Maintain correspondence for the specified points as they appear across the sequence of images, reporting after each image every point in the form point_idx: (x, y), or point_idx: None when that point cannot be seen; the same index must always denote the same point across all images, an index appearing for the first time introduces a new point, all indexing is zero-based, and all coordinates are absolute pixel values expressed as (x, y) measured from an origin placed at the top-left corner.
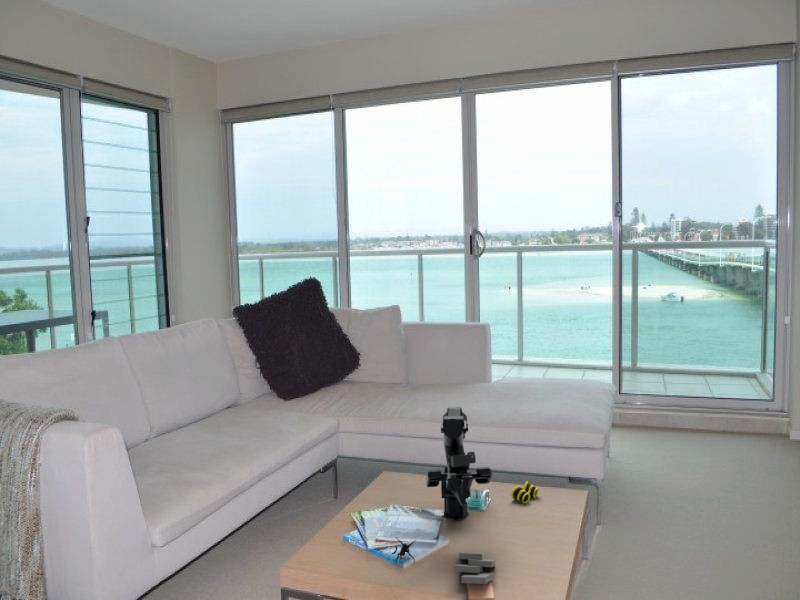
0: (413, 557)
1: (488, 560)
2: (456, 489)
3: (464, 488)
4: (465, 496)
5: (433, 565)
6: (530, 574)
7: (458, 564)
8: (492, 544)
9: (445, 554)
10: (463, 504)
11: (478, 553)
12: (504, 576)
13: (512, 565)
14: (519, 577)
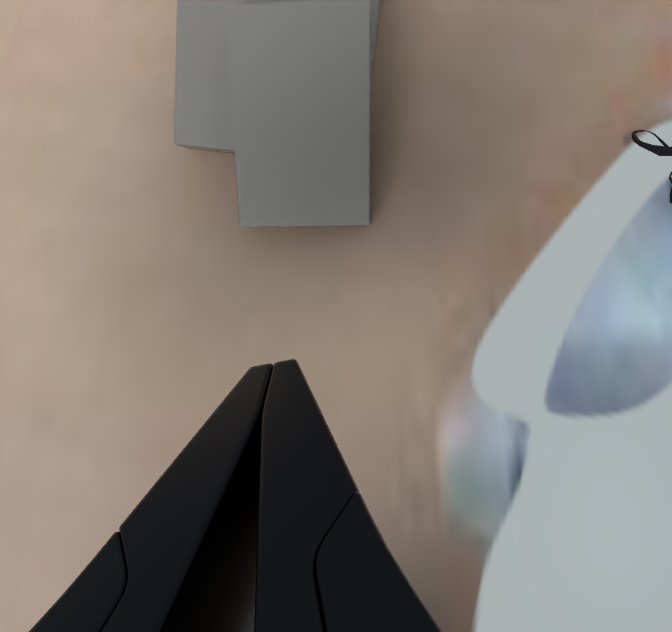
0: (653, 148)
1: (202, 21)
2: (378, 568)
3: (105, 624)
4: (188, 445)
5: (512, 131)
6: (46, 93)
7: (373, 10)
8: (167, 398)
9: (451, 258)
10: (272, 365)
11: (248, 61)
12: (161, 65)
13: (106, 165)
14: (98, 64)
